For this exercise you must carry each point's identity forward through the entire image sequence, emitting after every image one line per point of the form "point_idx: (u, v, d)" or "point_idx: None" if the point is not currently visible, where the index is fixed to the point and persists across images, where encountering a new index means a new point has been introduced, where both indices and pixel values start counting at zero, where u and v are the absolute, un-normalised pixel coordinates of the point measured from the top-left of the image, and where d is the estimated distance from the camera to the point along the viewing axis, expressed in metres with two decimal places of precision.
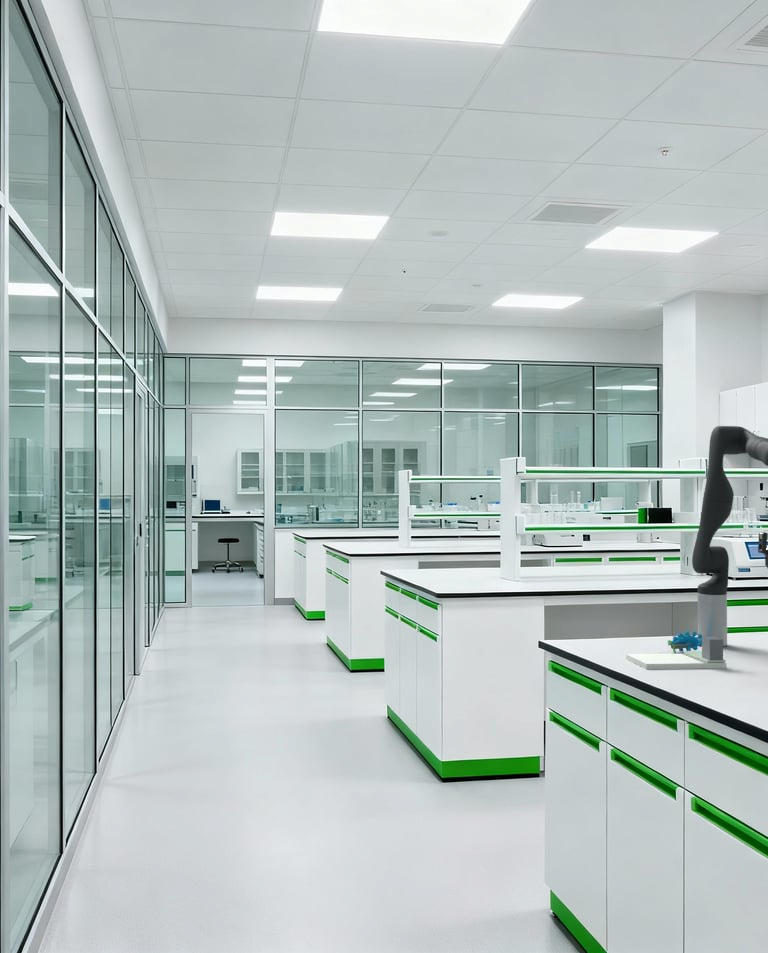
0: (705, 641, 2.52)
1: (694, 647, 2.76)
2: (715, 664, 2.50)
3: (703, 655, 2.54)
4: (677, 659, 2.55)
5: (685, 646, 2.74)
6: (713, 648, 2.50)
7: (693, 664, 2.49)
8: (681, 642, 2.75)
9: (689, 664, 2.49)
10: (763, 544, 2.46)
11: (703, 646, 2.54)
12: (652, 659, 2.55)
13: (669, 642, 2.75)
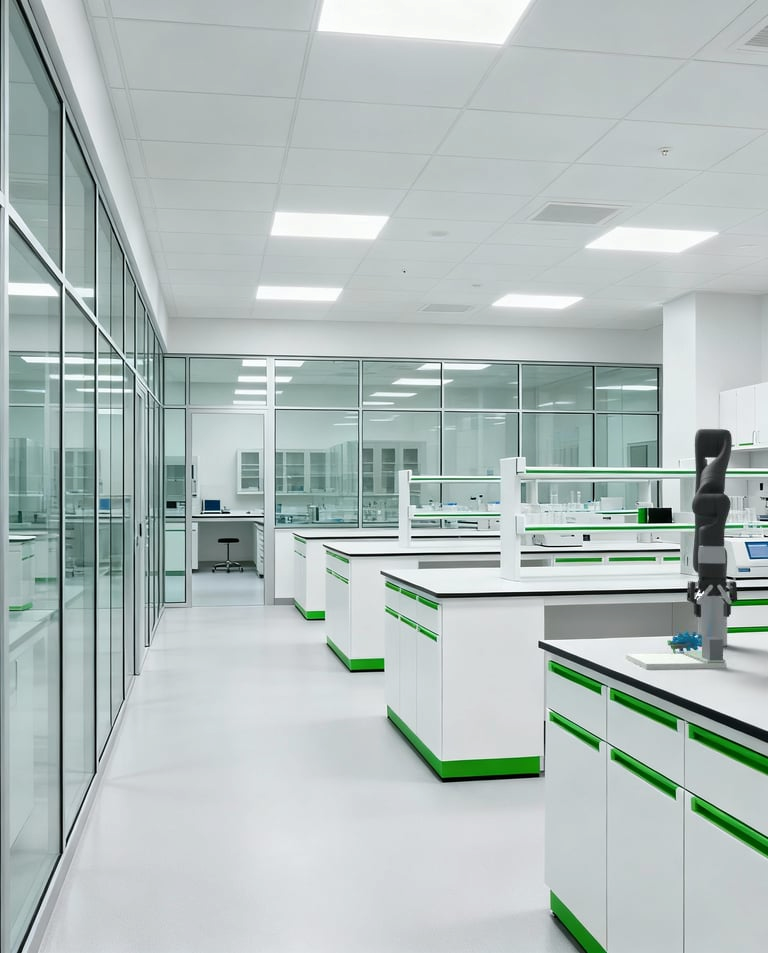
0: (705, 641, 2.52)
1: (694, 647, 2.76)
2: (715, 664, 2.50)
3: (703, 655, 2.54)
4: (677, 659, 2.55)
5: (685, 646, 2.74)
6: (713, 648, 2.50)
7: (693, 664, 2.49)
8: (681, 642, 2.75)
9: (689, 664, 2.49)
10: (691, 593, 2.51)
11: (703, 646, 2.54)
12: (652, 659, 2.55)
13: (669, 642, 2.75)
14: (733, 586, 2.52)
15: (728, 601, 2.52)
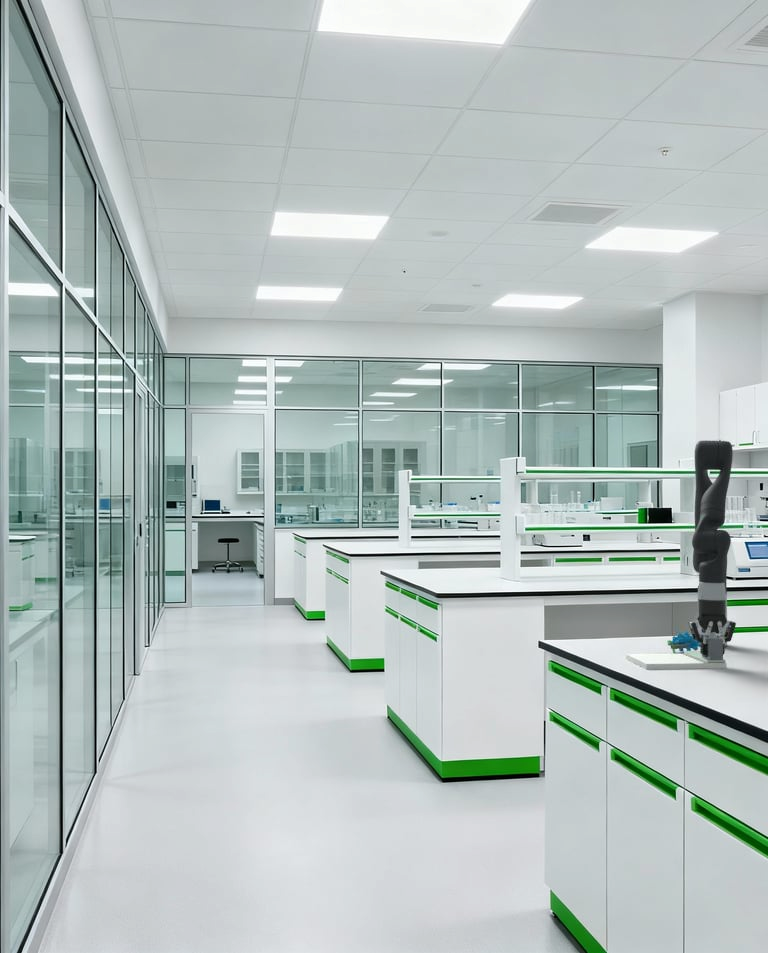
0: None
1: (694, 647, 2.76)
2: (715, 664, 2.50)
3: None
4: (677, 659, 2.55)
5: (685, 646, 2.73)
6: (713, 648, 2.50)
7: (693, 664, 2.49)
8: (681, 642, 2.74)
9: (689, 664, 2.49)
10: (695, 634, 2.51)
11: None
12: (652, 659, 2.55)
13: (669, 642, 2.75)
14: (732, 626, 2.52)
15: None
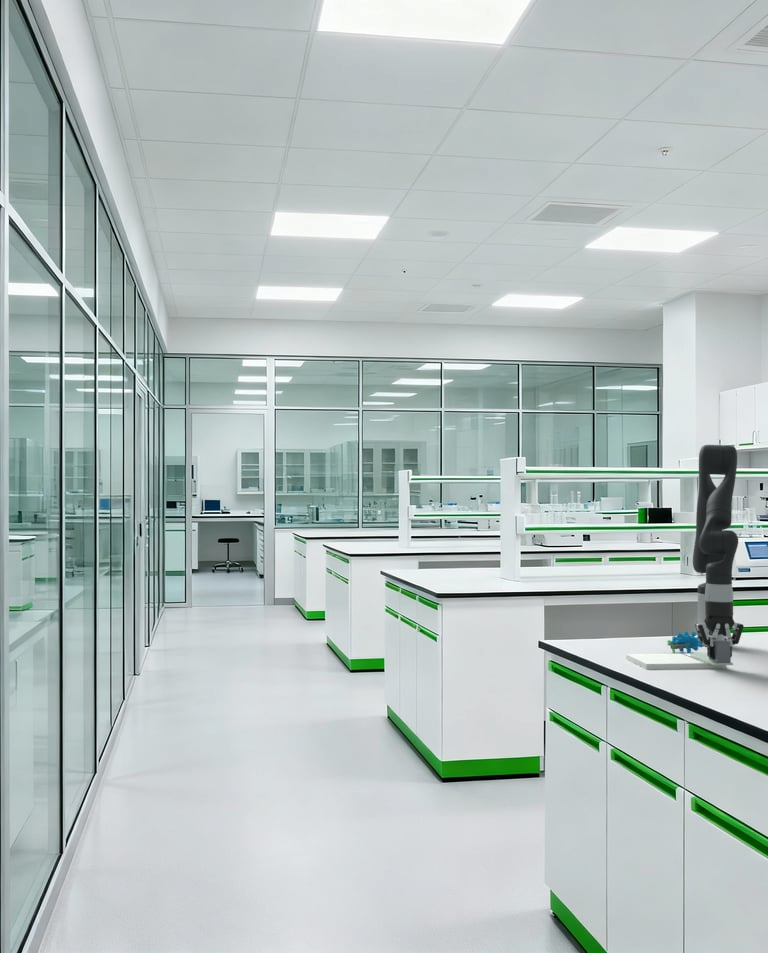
0: None
1: (694, 647, 2.76)
2: None
3: None
4: (677, 659, 2.55)
5: (685, 646, 2.73)
6: (721, 651, 2.45)
7: (693, 664, 2.49)
8: (681, 642, 2.74)
9: (689, 664, 2.49)
10: (702, 636, 2.46)
11: None
12: (652, 659, 2.55)
13: (669, 642, 2.75)
14: (739, 628, 2.47)
15: None
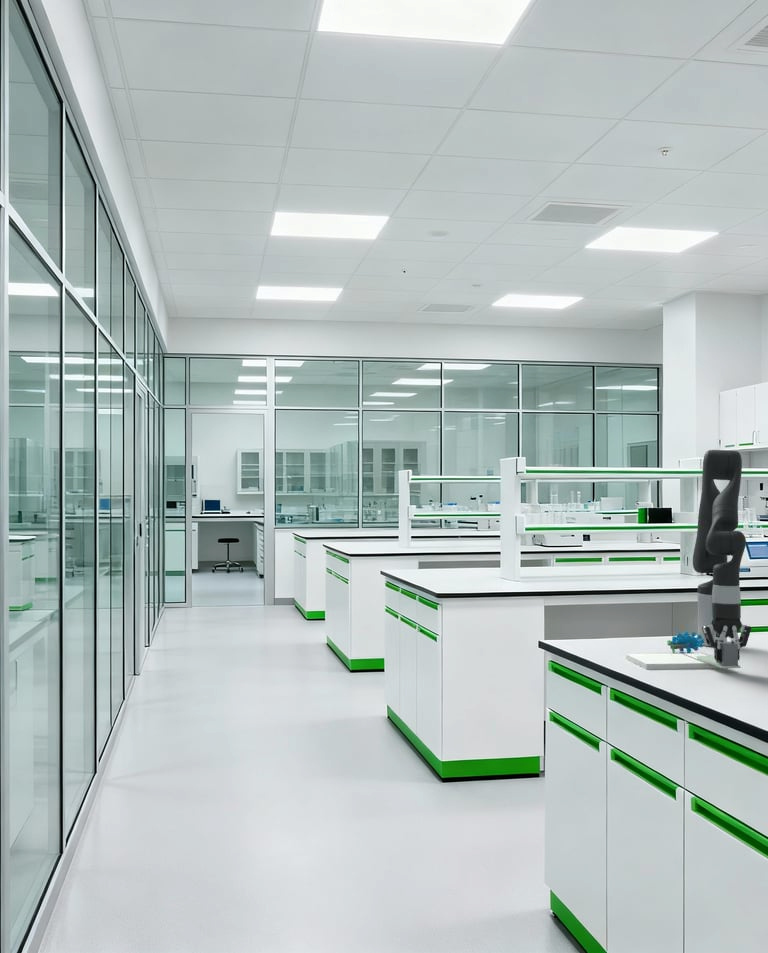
0: None
1: (694, 647, 2.75)
2: None
3: None
4: (677, 659, 2.55)
5: (684, 646, 2.73)
6: (728, 654, 2.41)
7: (693, 664, 2.49)
8: (681, 642, 2.74)
9: (689, 664, 2.49)
10: (709, 638, 2.42)
11: None
12: (652, 659, 2.55)
13: (668, 642, 2.75)
14: (747, 630, 2.43)
15: None
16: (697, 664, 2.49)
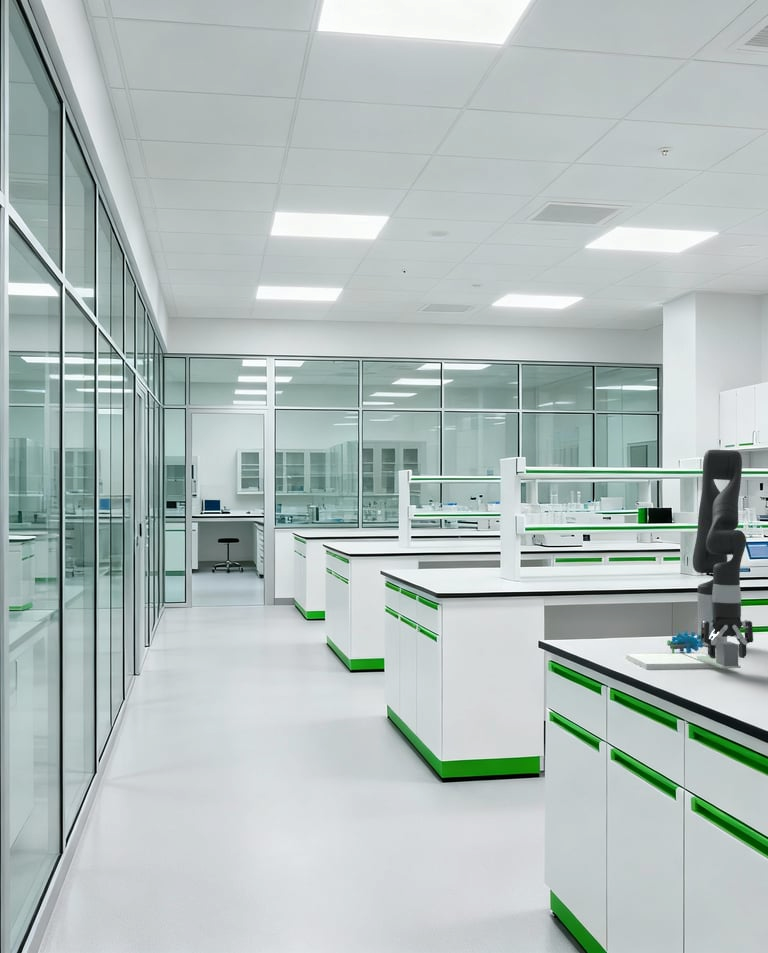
0: (719, 646, 2.44)
1: (695, 648, 2.75)
2: None
3: (717, 661, 2.45)
4: (677, 659, 2.55)
5: (684, 646, 2.73)
6: (728, 654, 2.41)
7: (693, 664, 2.49)
8: (680, 642, 2.74)
9: (689, 664, 2.49)
10: (705, 634, 2.42)
11: (717, 651, 2.45)
12: (652, 659, 2.55)
13: (668, 642, 2.75)
14: (749, 626, 2.43)
15: (743, 642, 2.43)
16: (697, 664, 2.49)
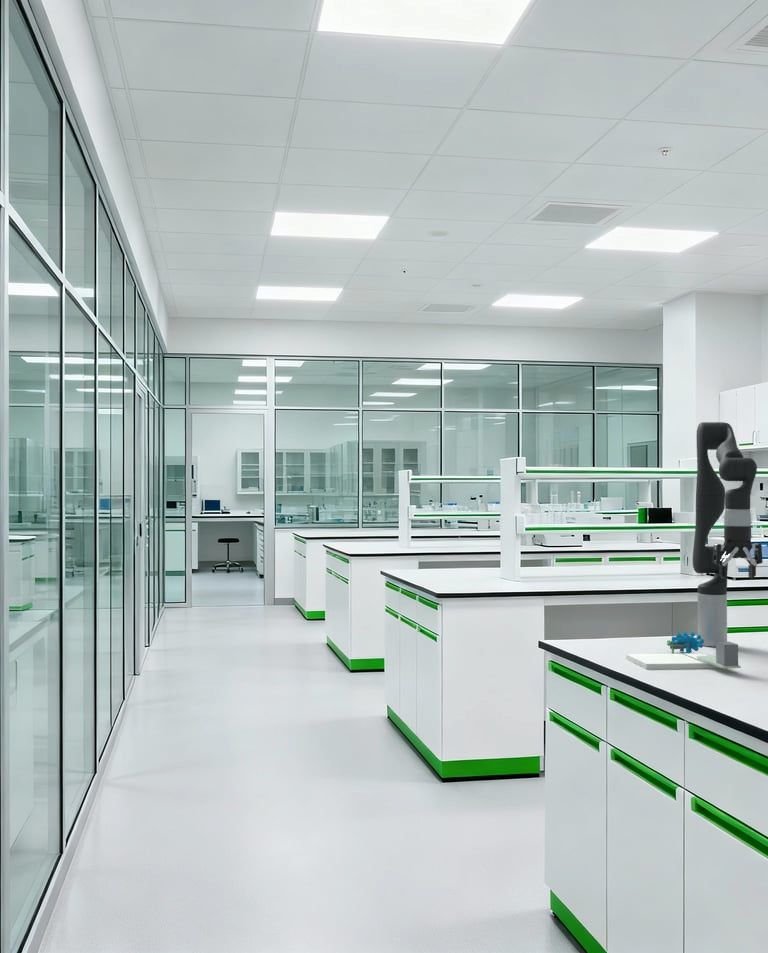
0: (719, 646, 2.44)
1: (695, 648, 2.75)
2: None
3: (717, 661, 2.45)
4: (677, 659, 2.55)
5: (684, 646, 2.73)
6: (728, 654, 2.41)
7: (693, 664, 2.49)
8: (680, 642, 2.74)
9: (689, 664, 2.49)
10: (717, 555, 2.57)
11: (717, 651, 2.45)
12: (652, 659, 2.55)
13: (668, 642, 2.75)
14: (758, 548, 2.58)
15: (753, 563, 2.57)
16: (697, 664, 2.49)
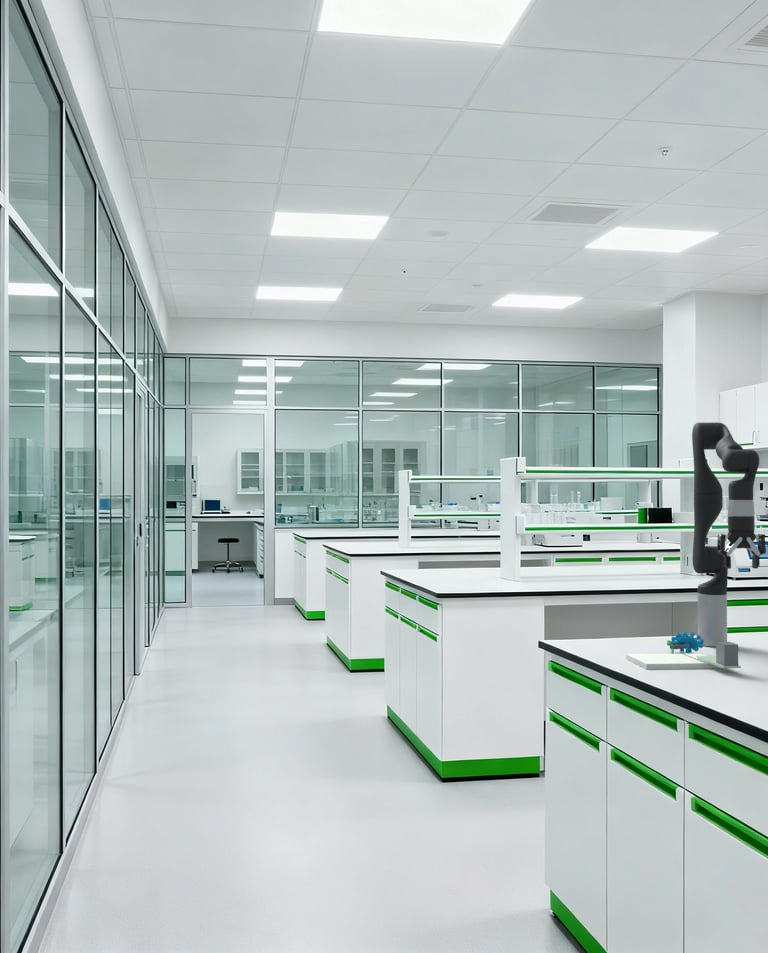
0: (719, 646, 2.44)
1: (695, 648, 2.75)
2: None
3: (717, 661, 2.45)
4: (677, 659, 2.55)
5: (684, 647, 2.73)
6: (728, 654, 2.41)
7: (693, 664, 2.49)
8: (680, 642, 2.74)
9: (689, 664, 2.49)
10: (721, 545, 2.60)
11: (717, 651, 2.45)
12: (652, 659, 2.55)
13: (668, 642, 2.75)
14: (762, 539, 2.61)
15: (757, 553, 2.61)
16: (697, 664, 2.49)
